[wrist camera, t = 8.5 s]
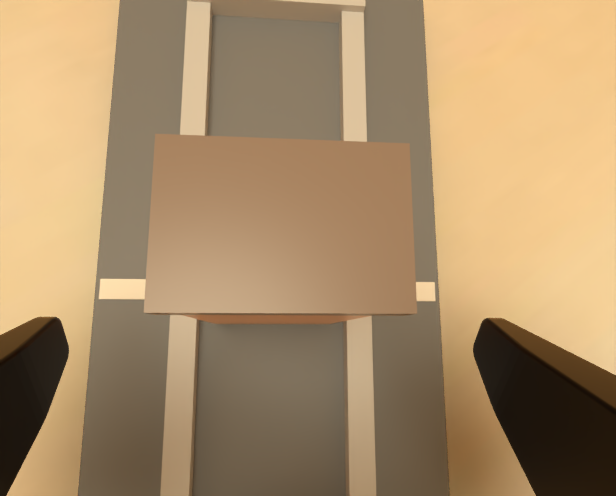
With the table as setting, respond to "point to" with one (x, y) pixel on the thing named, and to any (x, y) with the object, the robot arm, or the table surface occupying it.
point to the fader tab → (280, 230)
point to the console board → (262, 337)
